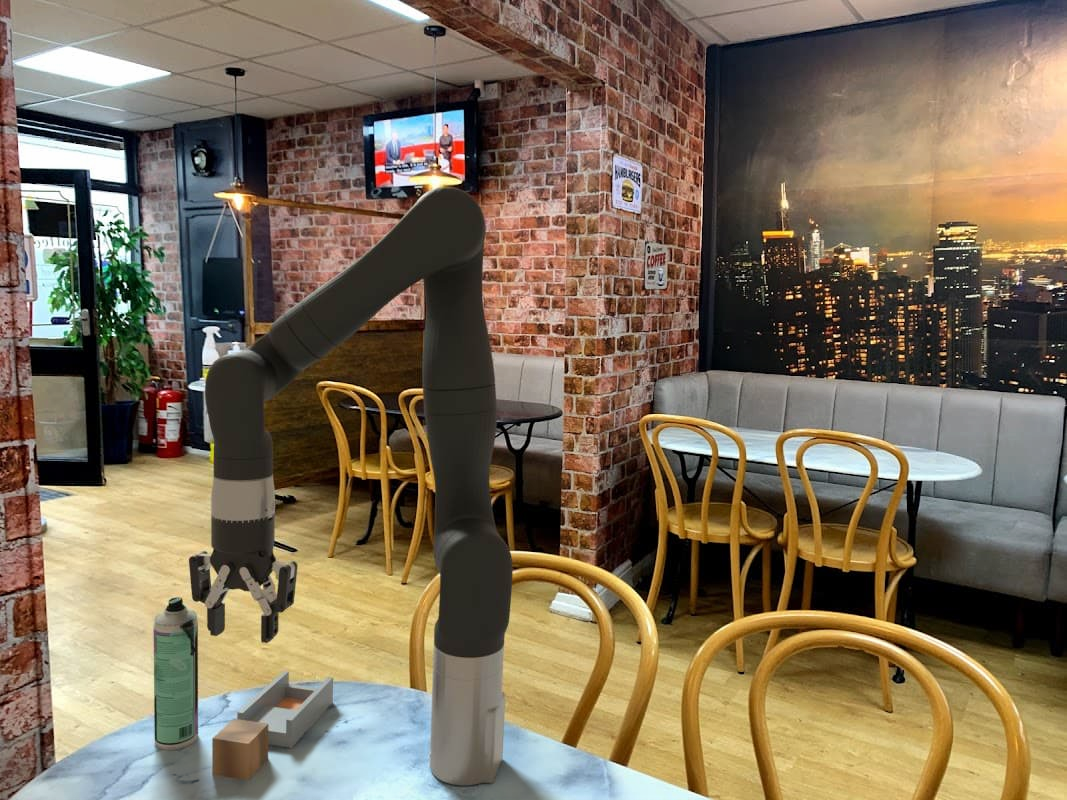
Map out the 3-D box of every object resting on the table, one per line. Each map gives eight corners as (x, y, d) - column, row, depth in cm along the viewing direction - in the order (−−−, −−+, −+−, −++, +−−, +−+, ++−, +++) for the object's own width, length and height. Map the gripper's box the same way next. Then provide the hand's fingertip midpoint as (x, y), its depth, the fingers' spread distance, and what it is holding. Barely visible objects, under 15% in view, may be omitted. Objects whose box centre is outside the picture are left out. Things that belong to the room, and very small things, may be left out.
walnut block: (268, 723, 104) (248, 743, 99) (268, 759, 105) (248, 780, 100) (233, 718, 105) (212, 738, 100) (233, 753, 105) (212, 775, 101)
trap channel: (332, 702, 120) (333, 677, 120) (291, 748, 107) (291, 720, 107) (283, 695, 121) (284, 670, 121) (237, 739, 109) (237, 712, 108)
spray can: (205, 730, 111) (205, 593, 108) (184, 751, 105) (184, 608, 103) (168, 726, 111) (167, 590, 109) (146, 747, 106) (144, 605, 103)
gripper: (173, 512, 96) (173, 642, 98) (281, 523, 94) (279, 656, 96) (209, 498, 104) (209, 619, 106) (310, 508, 101) (308, 632, 103)
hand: (242, 636), depth 101 cm, fingers open, 6 cm apart
